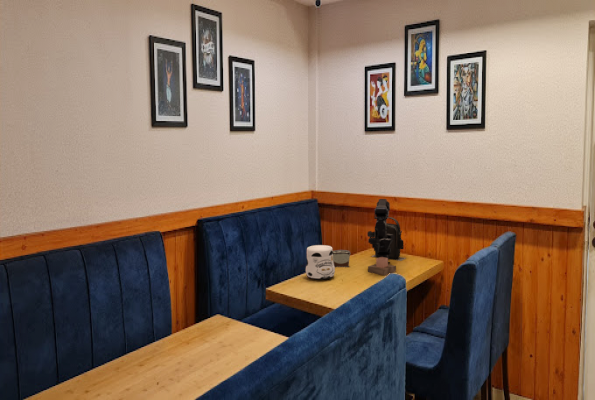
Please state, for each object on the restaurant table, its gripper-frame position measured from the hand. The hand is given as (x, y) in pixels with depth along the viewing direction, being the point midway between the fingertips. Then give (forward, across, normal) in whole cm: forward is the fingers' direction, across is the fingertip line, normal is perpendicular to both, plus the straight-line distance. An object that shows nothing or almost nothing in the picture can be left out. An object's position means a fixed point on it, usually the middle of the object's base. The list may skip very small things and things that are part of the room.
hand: (381, 252), depth 283 cm
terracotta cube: (+8, 0, 0) cm, 9 cm away
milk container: (+12, +33, -20) cm, 41 cm away
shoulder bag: (+12, -31, -18) cm, 38 cm away
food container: (+12, +6, -28) cm, 31 cm away
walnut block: (+12, 0, 0) cm, 12 cm away
